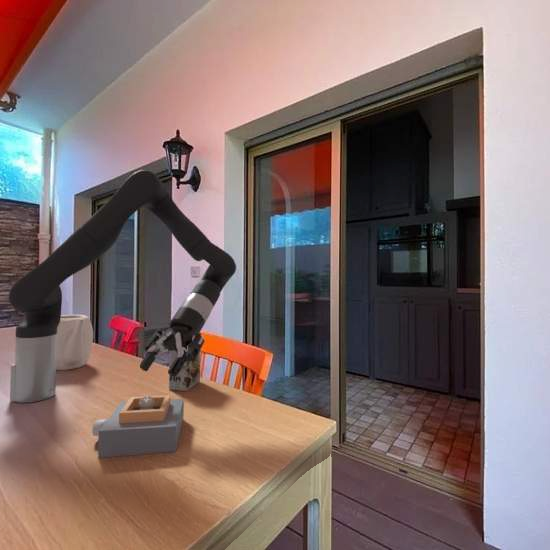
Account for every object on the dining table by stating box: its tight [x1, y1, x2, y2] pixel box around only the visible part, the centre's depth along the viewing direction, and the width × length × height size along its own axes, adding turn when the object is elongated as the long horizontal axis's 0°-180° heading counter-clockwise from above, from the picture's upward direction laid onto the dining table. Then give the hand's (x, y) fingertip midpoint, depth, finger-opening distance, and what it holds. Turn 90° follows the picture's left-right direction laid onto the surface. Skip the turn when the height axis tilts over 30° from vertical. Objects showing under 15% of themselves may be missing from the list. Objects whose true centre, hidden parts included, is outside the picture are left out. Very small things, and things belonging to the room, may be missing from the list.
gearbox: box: [92, 394, 185, 459], centre depth 67 cm, size 17×14×7 cm
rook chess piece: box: [139, 395, 155, 410], centre depth 67 cm, size 4×4×8 cm
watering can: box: [56, 314, 94, 371], centre depth 115 cm, size 16×27×19 cm, turn 49°
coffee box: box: [168, 332, 202, 392], centre depth 98 cm, size 9×6×16 cm
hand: (156, 372), depth 69 cm, fingers open, 8 cm apart
